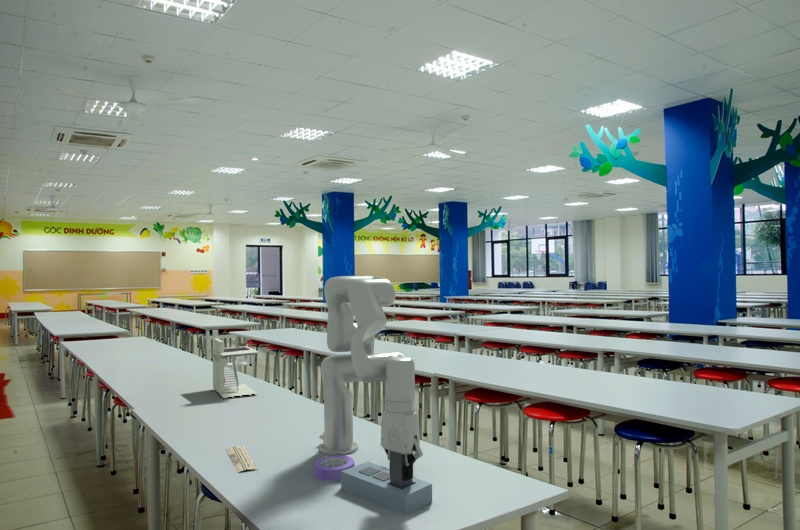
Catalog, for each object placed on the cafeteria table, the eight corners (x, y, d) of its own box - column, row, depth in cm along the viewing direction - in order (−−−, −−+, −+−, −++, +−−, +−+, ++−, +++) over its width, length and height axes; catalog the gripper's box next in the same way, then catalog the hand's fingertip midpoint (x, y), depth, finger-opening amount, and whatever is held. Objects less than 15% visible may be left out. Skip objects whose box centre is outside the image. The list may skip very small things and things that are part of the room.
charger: (390, 482, 136) (389, 446, 136) (400, 477, 139) (400, 442, 139) (401, 486, 134) (401, 449, 134) (412, 481, 137) (411, 445, 137)
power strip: (331, 485, 148) (331, 466, 148) (358, 475, 155) (358, 457, 155) (405, 516, 129) (405, 495, 129) (432, 503, 136) (432, 482, 136)
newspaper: (257, 473, 159) (257, 467, 159) (233, 477, 156) (233, 471, 156) (244, 450, 181) (244, 445, 181) (222, 453, 178) (222, 448, 178)
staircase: (261, 393, 261) (261, 332, 262) (223, 398, 252) (222, 335, 253) (248, 383, 285) (247, 327, 286) (213, 387, 276) (212, 330, 277)
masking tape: (326, 486, 148) (326, 472, 148) (307, 473, 158) (307, 460, 158) (362, 476, 155) (362, 463, 155) (342, 464, 165) (342, 452, 165)
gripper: (367, 403, 140) (368, 473, 140) (414, 414, 128) (415, 490, 128) (387, 397, 145) (388, 465, 145) (434, 408, 134) (435, 481, 133)
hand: (401, 476), depth 136 cm, fingers closed on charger, 4 cm apart
